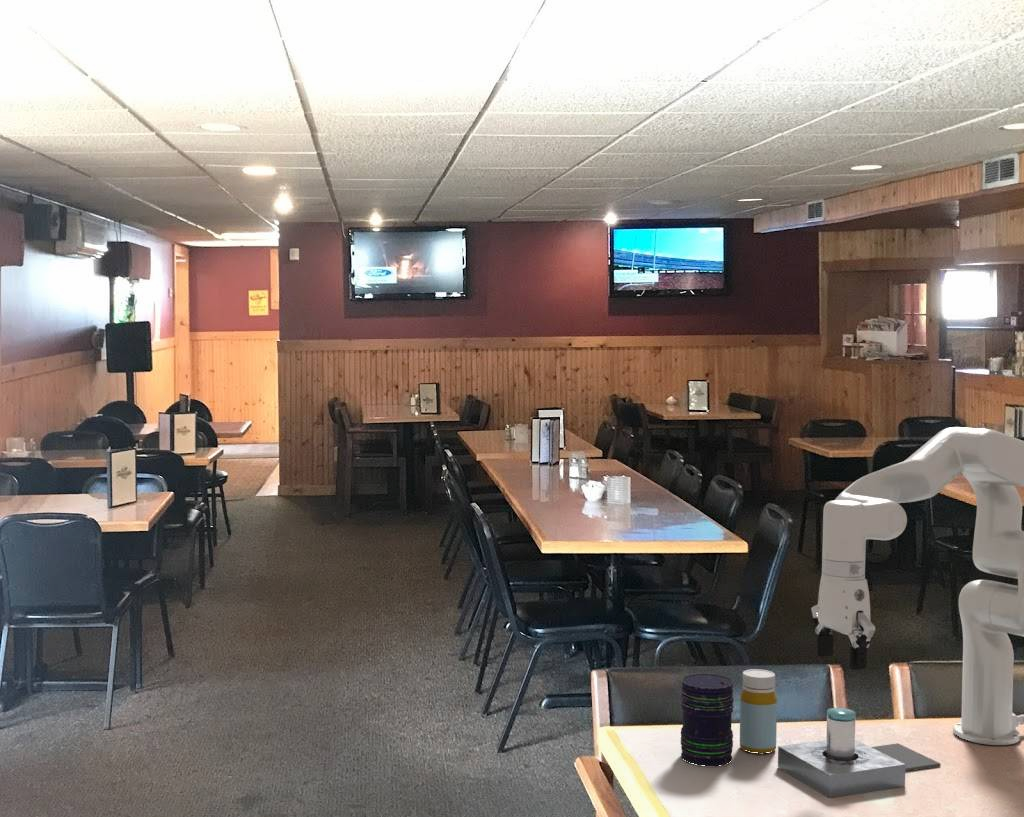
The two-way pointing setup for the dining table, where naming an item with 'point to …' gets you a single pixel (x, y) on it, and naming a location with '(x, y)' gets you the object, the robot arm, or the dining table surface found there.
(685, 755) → the storage jar
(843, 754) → the plug
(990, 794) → the dining table surface
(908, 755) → the mat
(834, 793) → the housing
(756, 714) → the bottle
